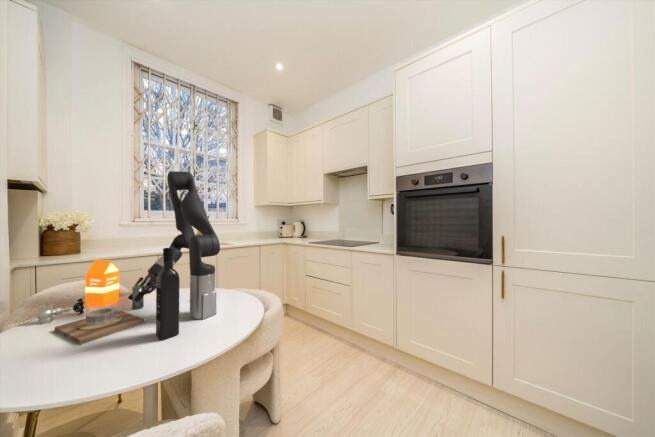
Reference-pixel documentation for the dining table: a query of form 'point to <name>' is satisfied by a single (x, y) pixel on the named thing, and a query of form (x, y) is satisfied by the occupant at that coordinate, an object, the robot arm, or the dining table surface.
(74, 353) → the dining table surface
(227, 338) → the dining table surface
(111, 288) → the orange juice
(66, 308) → the valve
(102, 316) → the socket fitting
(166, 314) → the wine bottle
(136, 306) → the grey metal cylinder
